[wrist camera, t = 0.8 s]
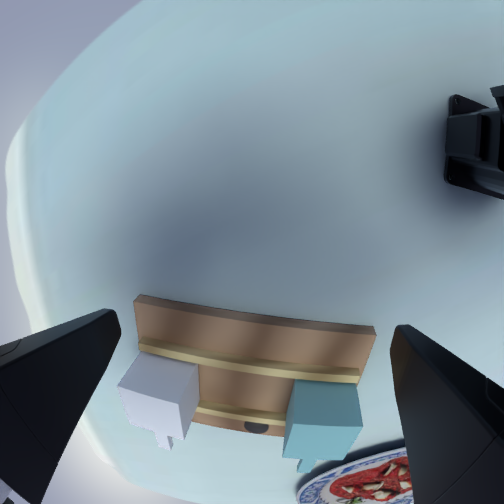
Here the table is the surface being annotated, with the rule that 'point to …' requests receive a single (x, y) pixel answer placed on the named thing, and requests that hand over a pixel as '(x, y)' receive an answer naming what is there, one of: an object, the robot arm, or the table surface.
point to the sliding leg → (321, 422)
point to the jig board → (250, 358)
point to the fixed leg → (161, 396)
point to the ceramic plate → (363, 482)
